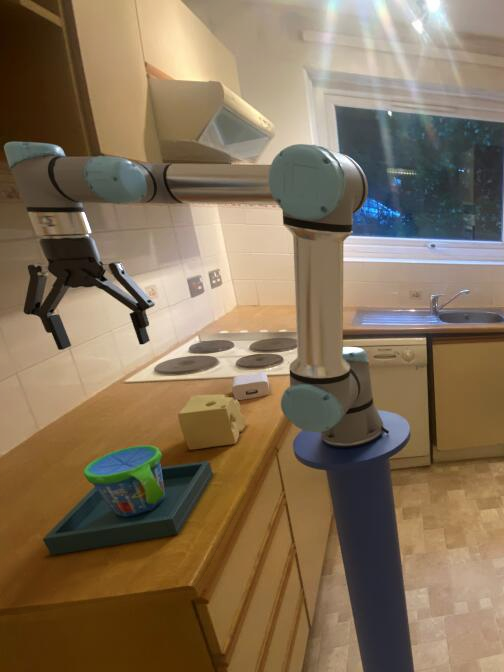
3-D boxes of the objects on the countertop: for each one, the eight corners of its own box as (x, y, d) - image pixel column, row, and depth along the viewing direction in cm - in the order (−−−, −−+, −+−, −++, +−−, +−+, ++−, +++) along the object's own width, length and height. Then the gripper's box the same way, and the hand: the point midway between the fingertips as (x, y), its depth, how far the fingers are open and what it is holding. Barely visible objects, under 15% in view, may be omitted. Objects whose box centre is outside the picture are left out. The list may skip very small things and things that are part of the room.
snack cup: (90, 506, 82) (69, 459, 78) (156, 478, 90) (140, 435, 86) (122, 538, 74) (100, 488, 70) (191, 505, 82) (175, 459, 78)
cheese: (246, 425, 114) (237, 390, 110) (236, 445, 104) (226, 408, 100) (201, 431, 111) (190, 395, 107) (186, 452, 101) (173, 414, 97)
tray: (213, 474, 93) (209, 460, 92) (177, 534, 76) (171, 518, 75) (112, 488, 88) (106, 474, 87) (51, 555, 71) (42, 539, 70)
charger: (268, 378, 144) (270, 394, 132) (236, 383, 140) (235, 401, 128) (265, 365, 142) (267, 380, 130) (232, 370, 138) (231, 386, 126)
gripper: (-38, 238, 74) (16, 355, 82) (135, 237, 81) (168, 345, 89) (-4, 236, 81) (42, 344, 89) (153, 234, 88) (183, 335, 96)
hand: (105, 345), depth 89 cm, fingers open, 13 cm apart
